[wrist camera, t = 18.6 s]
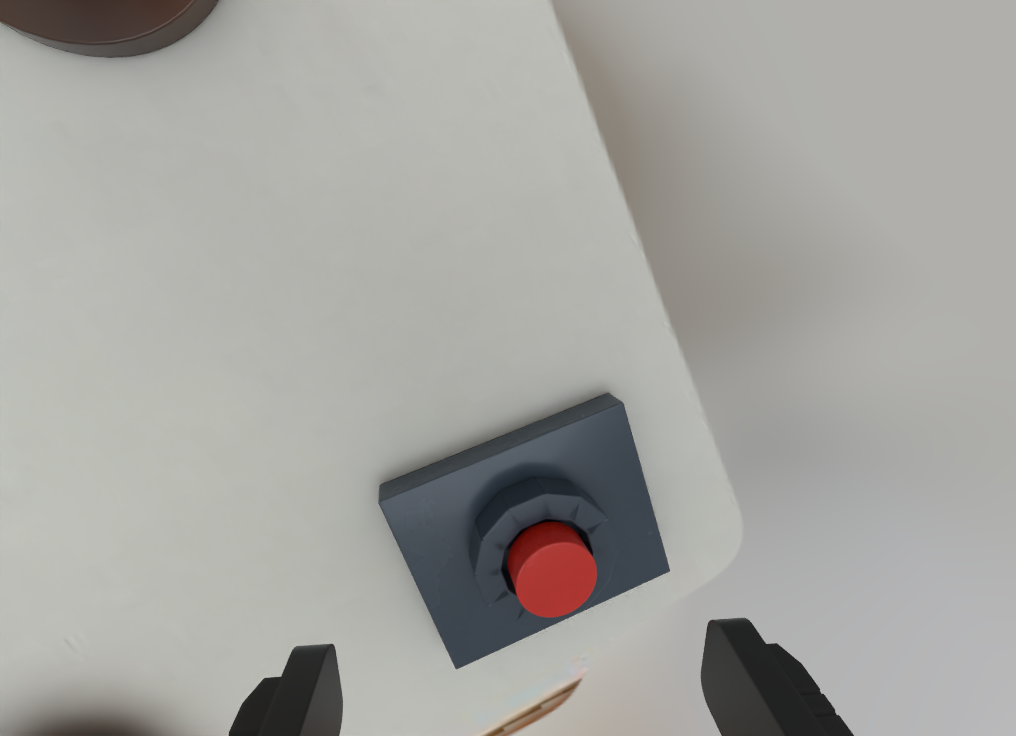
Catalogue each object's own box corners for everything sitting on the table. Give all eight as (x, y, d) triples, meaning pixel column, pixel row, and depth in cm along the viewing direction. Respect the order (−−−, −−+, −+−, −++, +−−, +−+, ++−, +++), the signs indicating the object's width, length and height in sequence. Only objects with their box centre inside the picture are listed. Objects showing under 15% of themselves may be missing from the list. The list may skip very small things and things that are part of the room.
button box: (608, 392, 25) (641, 413, 22) (654, 552, 28) (690, 593, 24) (379, 485, 23) (376, 523, 20) (452, 644, 26) (460, 701, 23)
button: (570, 508, 22) (584, 529, 21) (591, 572, 23) (606, 596, 22) (496, 540, 22) (504, 564, 20) (521, 604, 23) (530, 631, 21)
